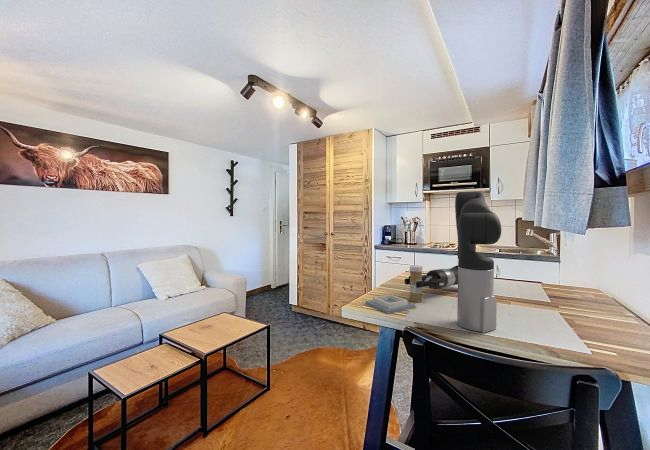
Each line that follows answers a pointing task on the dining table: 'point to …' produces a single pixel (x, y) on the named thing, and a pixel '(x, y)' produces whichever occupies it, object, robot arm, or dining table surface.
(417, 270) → the sprinkles bottle
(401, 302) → the grey stepped square plate
